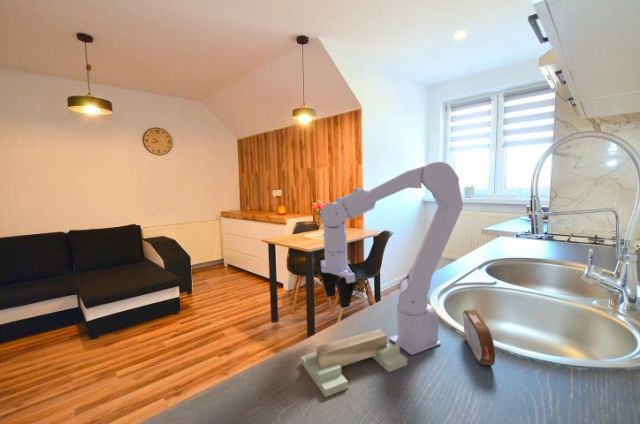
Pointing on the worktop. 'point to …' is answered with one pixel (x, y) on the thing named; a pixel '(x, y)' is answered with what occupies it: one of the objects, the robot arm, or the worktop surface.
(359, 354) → the bar
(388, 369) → the stand
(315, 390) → the worktop surface
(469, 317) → the brown rounded slab
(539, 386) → the worktop surface
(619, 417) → the worktop surface
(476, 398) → the worktop surface
